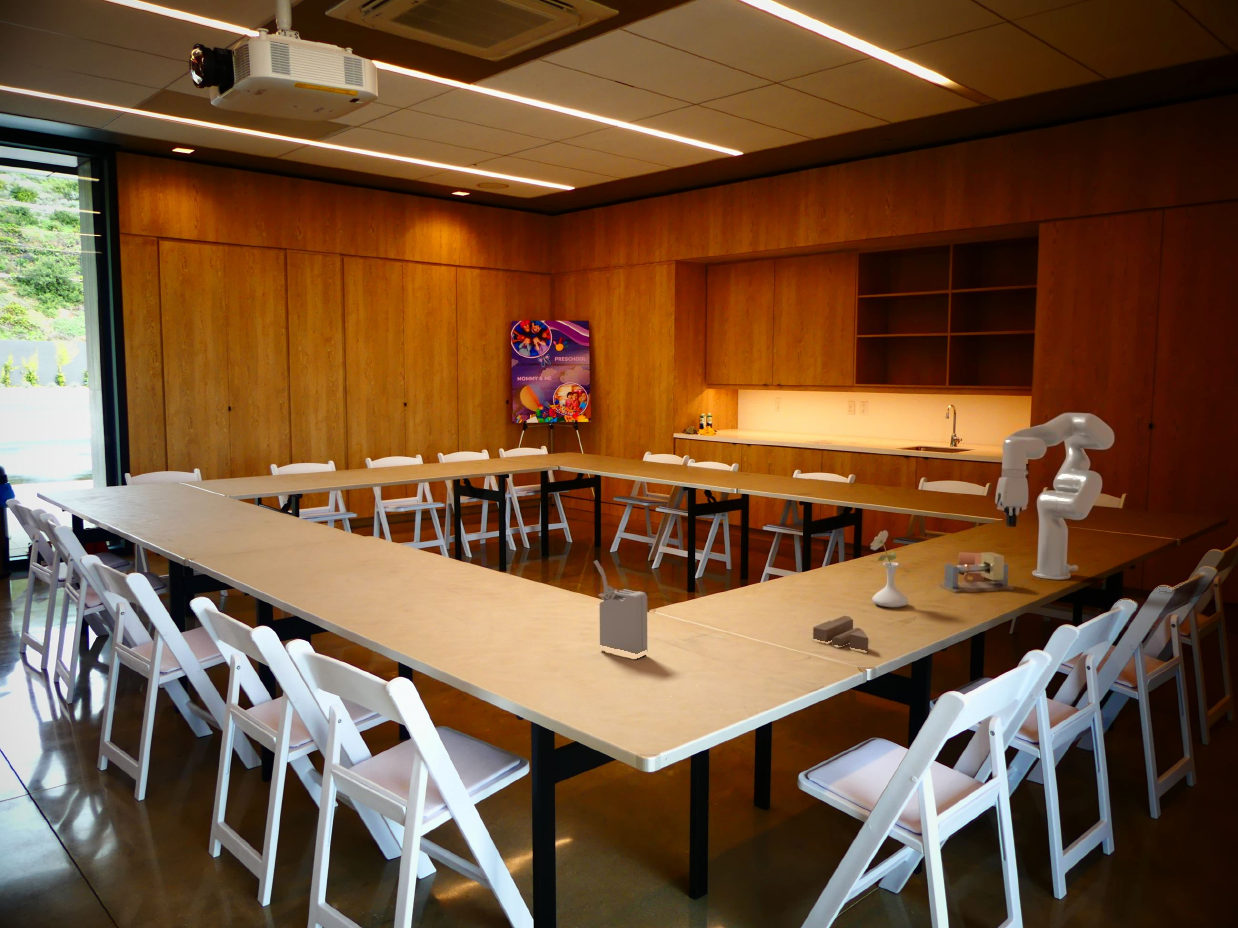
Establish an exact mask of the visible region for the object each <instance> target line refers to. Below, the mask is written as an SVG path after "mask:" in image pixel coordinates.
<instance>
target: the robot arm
mask: <svg viewBox="0 0 1238 928" xmlns="http://www.w3.org/2000/svg"><path fill="white" fill-rule="evenodd" d="M1062 442H1064V448H1065V455H1066V456H1065V459H1064V461H1063V463H1062V464H1061V467H1060V469H1059V470H1058V471H1057V473H1056V475H1055V477H1054V480H1053V482H1052V483H1053V484H1052V487H1053V489H1054V490H1045V491H1042V492H1041V493H1039V495H1038V497H1037V499H1036V508H1037V513H1038V514H1037V515H1038V541H1037V567H1036V569H1034V570H1032V571H1031V573H1032V575H1033V576H1034V577H1036V578H1041V579H1045V580H1068V579H1070V578H1071V577H1072V576H1071V573H1070V572H1071V571H1072V572H1074V571H1078V570H1079V566H1078V565H1077V564H1076V565H1075V564H1073V565H1070V564H1069V563H1067V561H1068V560H1067V558H1068V556H1067V555H1068V539H1069V538H1068V537H1069V530H1068V525H1067V523H1066V521H1065V519H1066V520H1067V519H1069V520H1074V521H1080V520H1084V519H1085V518H1087V517H1088V515H1089V514H1090V511H1091V510H1092V508H1093V507H1094V505H1095V503H1096V501H1097V500H1098V498H1099V496H1100V494H1101V492H1102V488H1103V479H1102V476H1101V475H1100V473H1098V472H1096V471H1094V470H1089V469H1090V467H1091V461H1090V459H1089V456H1088V455H1087V454H1086V452H1085V449H1087V450H1088V449H1089V450H1101V451H1102V450H1107V449H1110V448H1111V447H1112V446H1113V444H1114V443H1115V433H1114V430H1113V429H1112V428H1111V426H1109V425H1108V424H1107V423H1106V422H1105V421H1103V420H1102V419H1101V418H1100V417H1098V416H1097V415H1094V414H1092V413H1090V412H1088V413H1085V412H1084V413H1083V412H1063V413H1062V414H1060V415H1057V416H1056V417H1055V418H1053V419H1051V420H1049V421H1047V422H1045V423H1043V424H1039V425H1036V426H1031V427H1027V428H1023V429H1020V430H1017V431H1015V432H1013V433H1012V434H1009V435H1008V436H1007V437H1006V438H1005V439H1004V441H1003V443H1002V447H1001V448H1002V465H1001V477H999V478H998V482H997V486H996V490H995V499H994V503H995V505H997V507H996V509H997V510H1000V511H1003V513H1004V514H1005V515H1006V516H1005V524H1006V526H1007V527H1010V528H1013V527H1015V528H1016V527H1017V522H1018V520H1017V518H1018V516H1019V514H1020V513H1021V512H1022V511H1024V510H1027V508H1028V503H1029V484H1028V479H1027V478H1026V475H1028V474H1029V470H1027V460H1037V459H1041V458H1042V457H1044V456H1045V455H1046V452H1047V450H1048V449H1047V448H1048V447H1053V446H1057V445H1059V444H1060V443H1062Z"/></svg>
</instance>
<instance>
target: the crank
mask: <svg viewBox="0 0 1238 928" xmlns="http://www.w3.org/2000/svg"><path fill="white" fill-rule="evenodd" d="M981 553H982V552H966V551H965V552H962V551H960V552H958V565H957V566H960V565H965V564H967V565H979V564H981ZM961 574H962V575H963V580H964V583H965V582H983V581H985V577H983V576H981V572H969V573H961ZM969 576H970V577H971V579H969V578H968V577H969Z"/></svg>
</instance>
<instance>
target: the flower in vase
mask: <svg viewBox="0 0 1238 928" xmlns="http://www.w3.org/2000/svg"><path fill="white" fill-rule="evenodd" d="M888 537H889V531H887V530H886V529H884V530H883V531H882V530H881V531H879V533H878V535H877V536H875V537H874V539H873V541H872V542H871V543H870V550H873V551H877V550H878V549H879V548H880V547H882V546H883V548H884V551H885V554H882V555H880V556H879V558H878V559H877V562H883V561H885V560H886V559H887V560H888V561H886V562H883V563H882V564H883V566H884V567H885V570H886V577H887V578H886V579H887V581H886V585H885V587H883V588H882V589H881V590H878V591H877V592H876V593H875V594H874V595H873V596H872V599H871V601H872V602H873V603H874V604H875V605H878V606H881V607H885V608H886V607H887V608H902V607H904V606H908V604H909V603H910V601H909V598H908V597H907V596H906V595H905V594H904V593H903V592H901V590H899V588H897V587H896V584H895V577H896V576H895V575H896V571H897V569H898V567H899V566H900V564H899V562H895V561H894V562H893V560H895V559H896V558H897V552H896V551H893V552H892V553H890V554H888V552H887V551H888V550H887V549H886V546H885V542H886V541H887V538H888ZM891 561H892V562H891Z"/></svg>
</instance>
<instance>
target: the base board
mask: <svg viewBox="0 0 1238 928" xmlns="http://www.w3.org/2000/svg"><path fill="white" fill-rule="evenodd" d="M938 586H939V587H940V588H942V589H945V590H946V591H949V592H952V593H954V594H962V593H963V594H964V593H981V591H983V592H997V591H998V590H1000V591H1012V590H1014V587H1013V586H1012V585H1011V586H1010V585H1008V586H1001V585H998V584H996V583H994V580H986V581H985V580H984V581H983V582H965V581H964V582H958V589H951V588H949V587H947V586H945V583H939V585H938ZM998 592H999V591H998Z"/></svg>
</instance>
